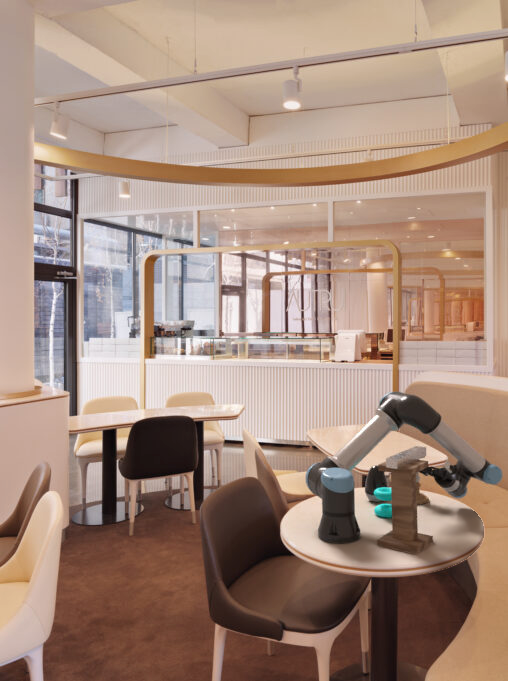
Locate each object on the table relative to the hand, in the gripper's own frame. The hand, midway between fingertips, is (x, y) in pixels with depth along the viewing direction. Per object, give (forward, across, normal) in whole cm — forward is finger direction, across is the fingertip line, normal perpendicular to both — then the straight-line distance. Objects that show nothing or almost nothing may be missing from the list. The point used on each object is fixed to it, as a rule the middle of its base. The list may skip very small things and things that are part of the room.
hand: (427, 461), depth 213 cm
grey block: (+17, 0, -6) cm, 18 cm away
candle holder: (-37, +18, -7) cm, 42 cm away
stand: (+5, 0, -32) cm, 32 cm away
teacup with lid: (-39, +35, -6) cm, 53 cm away
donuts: (-16, +19, -19) cm, 32 cm away
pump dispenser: (-29, +31, -12) cm, 45 cm away
